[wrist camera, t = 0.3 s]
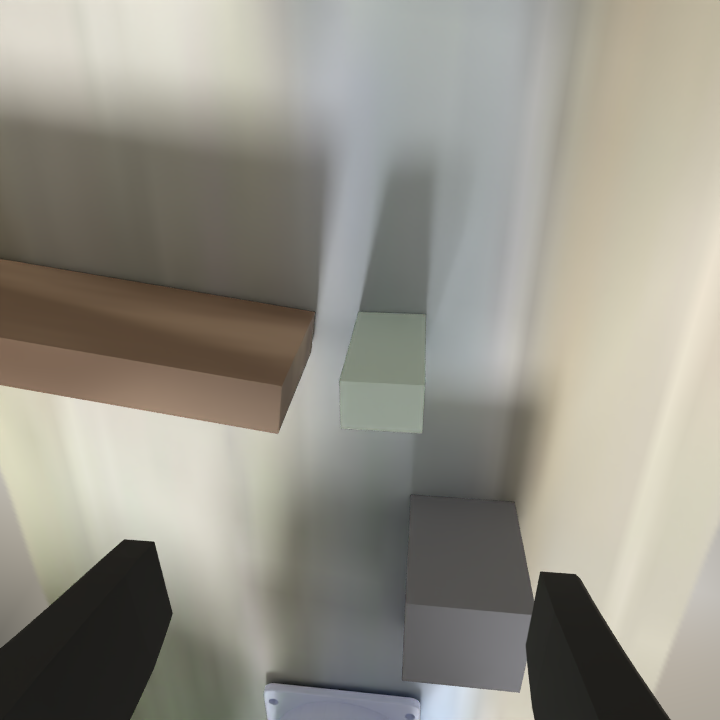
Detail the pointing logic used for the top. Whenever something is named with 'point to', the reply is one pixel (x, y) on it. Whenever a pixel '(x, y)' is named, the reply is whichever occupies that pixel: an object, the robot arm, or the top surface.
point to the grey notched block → (466, 594)
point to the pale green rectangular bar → (384, 374)
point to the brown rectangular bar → (150, 346)
